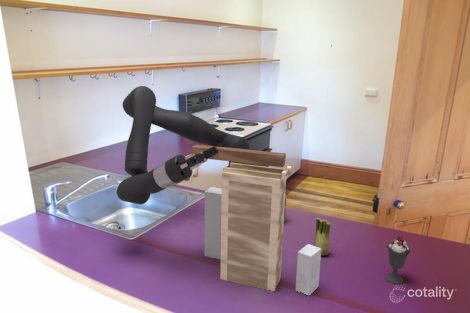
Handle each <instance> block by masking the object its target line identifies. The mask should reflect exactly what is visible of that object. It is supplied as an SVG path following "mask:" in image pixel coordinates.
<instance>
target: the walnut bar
mask: <svg viewBox="0 0 470 313" xmlns="http://www.w3.org/2000/svg"><path fill="white" fill-rule="evenodd" d="M211 147H213V146H209V145H206V144H195V145H193V146H191V155H193V154H195V153H197V154H199V153H200V152H204V151H206V150H207V149H209V148H211ZM216 148H217V150H218V153H217V154H215V155H213V156H211V157H210V158H208V160H215V161H223V162H224V161H225V162H229V161H231V162H240V163H249V165H257V166H265V167H274V168H284V166H286V155H287V154H286V153H285V152H284V153H283V152H275V151H264V150H255V149H250V150H246V149H236V148H225V147H216ZM206 158H207V157H206Z"/></svg>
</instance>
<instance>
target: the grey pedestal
mask: <svg viewBox="0 0 470 313" xmlns="http://www.w3.org/2000/svg"><path fill="white" fill-rule="evenodd" d="M221 203H222V187H221V188H220V187H214V186H211V187H209V188H208V189H206V190H204V257H207V258H211V259H217V260H220V261H221Z"/></svg>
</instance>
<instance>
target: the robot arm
mask: <svg viewBox="0 0 470 313" xmlns="http://www.w3.org/2000/svg"><path fill="white" fill-rule="evenodd" d="M122 108H123V111H124V112H125V114H126V115H128V116H129V117H130V118H132V126H131V130H130V133H129V135H128V140H127V142H126V147H125V157H124V158H125V159H124V171H125V173H126V174H128V175H130V176H128V177H126V178H124V179H123V180H122V181H120V182H119V184H118V185H117V188H116V196H117V198H118V199H119V200H120V201H123V202H125V203H130V204H135V205H144V204H146V203H147V202H148V201H149V199H150V197H151V194H157V193H160V192H162V191H164V190H166V189H168V188H171V187H174V186H176V185H177V184H180V183H182V182H183V181H184V182H185V181H186V180H188V179H189V178H191V177H192V174H193V170H195V169H196V168H198V167H200V166H201V165H202V164H204V163H206V162H207V161H209V159H208V158H210V157H211V156H213V155H215V154H217V153H218V150H217V148H216V147H225V148H236V149H246V150H251V149H250V148H251V146H250V144H249V141H248V139H246V138H244V137H242V136H239V135H236V134H232V133H229V132H225V131H222V130H219V129H218V128H216V127H214V126H213V125H212V124H210V123H209V122H208V121H206V120H204V119H203V118H201V117H199V116H197V115H195V114H192V113H190V112H187V111H183V110H181V111H180V110H173V109H166V108H163V107H159V106H158V105H157V97H156V94H155V92H154V91H153V90H152V89H151V88H149V87H148V86H145V85H140V86H136V87H135V88H133V89H132V90H131V91H130V92H129V93H128V95H126V97H125V98H124V99H123V101H122ZM152 125H153V126H156V127H159V128H162V129H164V130H166V131H167V132H168V131H169V132H171V133H172V134H176V135H178V136H180V137H182V138H185V139H187V140H189V141H191V142H194V143H198V144H200V145H205V146H213V147H211V148H209V149H207V150H206V151H204V152H200V153H199V154H197V153H195V154H193V155H192V154H190V155H188V156H185V155H183V154H176V155H175V156H173V157H171V158H170V159H167V160H166V161H164V162H162V163H160V164H159V165H158V166H156V167H154V168H152V169H150V170H149V171H148V159H149V158H148V155H149V142H150V134H151V129H152V128H151V127H152ZM206 157H207V158H206ZM230 163H239V164H248V165H250V164H249V163H240V162H231V161H228V165H227V166H226V167H229V168H230Z"/></svg>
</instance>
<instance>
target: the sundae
mask: <svg viewBox="0 0 470 313" xmlns="http://www.w3.org/2000/svg"><path fill="white" fill-rule="evenodd" d="M385 248H386V249H387V250H388V263H389V266H390V267H391V268H392V269H393V270H392V273H387V274H386V275H385V276H384V278H385V280H386V281H388V282H390V283H391V284H394V285H395V284H397V285H401V284H403V283H404V279H403V278H402V276H400V275H398V271H399V270H400V269H402V268H404V267H405V264H406V260H407V258H408V255H409V254H411V253H412V249H411V248H410V247H409V245H407V241H406V240H405V239H404V234H402V235H401V236H398V237H397V238H395V239H394V241H392V242H388V243H386V245H385Z"/></svg>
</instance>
